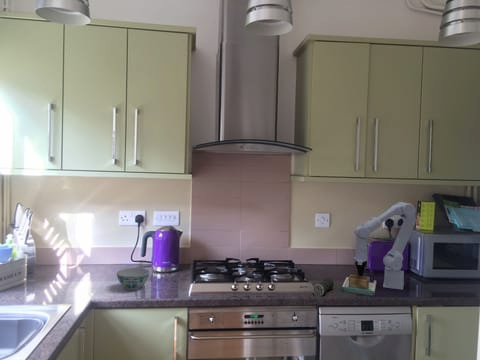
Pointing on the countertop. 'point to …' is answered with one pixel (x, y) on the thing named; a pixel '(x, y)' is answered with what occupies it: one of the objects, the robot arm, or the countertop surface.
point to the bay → (360, 291)
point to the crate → (359, 282)
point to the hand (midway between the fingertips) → (360, 276)
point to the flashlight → (323, 287)
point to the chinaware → (133, 277)
